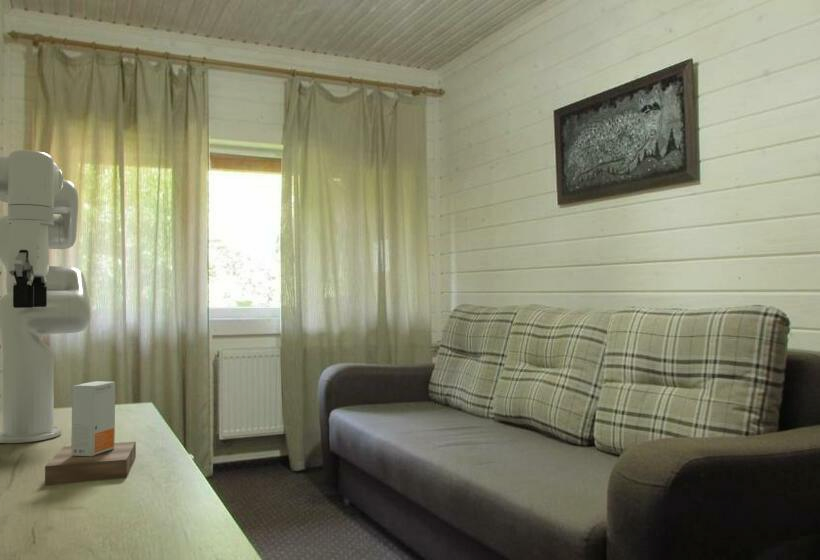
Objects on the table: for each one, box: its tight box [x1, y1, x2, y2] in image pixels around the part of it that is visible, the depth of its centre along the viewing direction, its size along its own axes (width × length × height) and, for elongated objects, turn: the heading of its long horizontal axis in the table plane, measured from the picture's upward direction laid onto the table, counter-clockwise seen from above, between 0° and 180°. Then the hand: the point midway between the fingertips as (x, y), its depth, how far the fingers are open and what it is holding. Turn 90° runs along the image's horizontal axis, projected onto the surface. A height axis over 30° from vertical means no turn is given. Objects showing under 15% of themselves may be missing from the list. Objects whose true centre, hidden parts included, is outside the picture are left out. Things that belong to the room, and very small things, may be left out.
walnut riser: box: [44, 440, 137, 486], centre depth 110 cm, size 14×12×3 cm
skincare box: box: [70, 380, 116, 456], centre depth 110 cm, size 6×4×12 cm
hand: (30, 307), depth 120 cm, fingers open, 9 cm apart
